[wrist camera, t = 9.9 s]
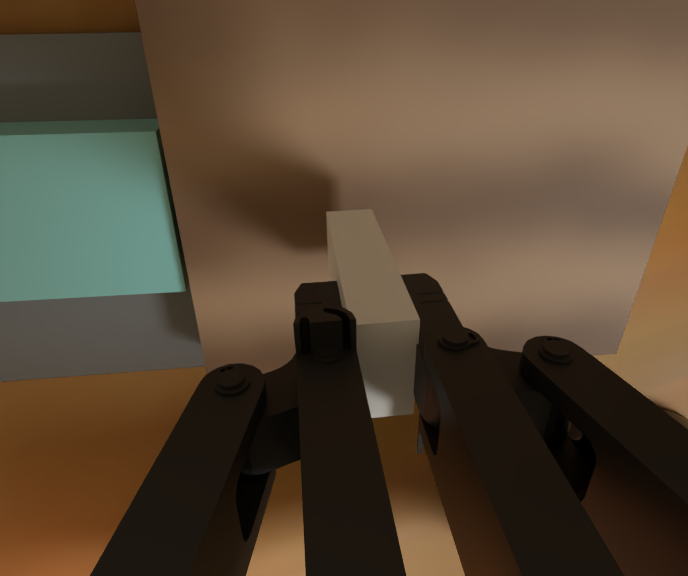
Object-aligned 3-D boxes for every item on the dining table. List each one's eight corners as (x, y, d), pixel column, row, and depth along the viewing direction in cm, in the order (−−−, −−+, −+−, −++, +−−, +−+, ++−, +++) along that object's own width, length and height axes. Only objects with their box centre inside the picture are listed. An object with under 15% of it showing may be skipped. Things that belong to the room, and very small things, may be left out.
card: (193, 266, 21) (185, 291, 19) (-63, 280, 20) (-95, 307, 18) (167, 118, 18) (155, 131, 16) (-137, 125, 17) (-185, 140, 15)
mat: (220, 359, 24) (219, 365, 23) (-94, 383, 22) (-99, 389, 22) (163, 31, 17) (160, 32, 16) (-301, 39, 15) (-314, 40, 15)
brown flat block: (581, 316, 25) (616, 353, 22) (217, 343, 23) (209, 385, 21) (673, -9, 18) (740, -9, 15) (157, -3, 16) (134, -3, 14)
